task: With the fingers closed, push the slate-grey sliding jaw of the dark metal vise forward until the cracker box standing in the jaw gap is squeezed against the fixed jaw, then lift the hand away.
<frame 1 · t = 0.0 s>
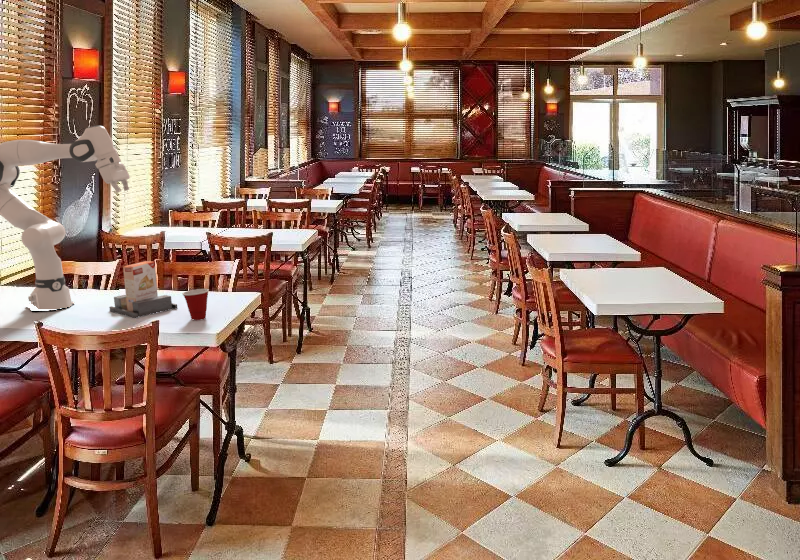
hand: (123, 191, 317), 52 cm above the table, tool tilted 20°, fingers open, 8 cm apart
cracker box: (143, 310, 320), on the table
vise: (144, 310, 319), on the table
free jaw: (134, 300, 324), point 3 cm above the table, slide at 0.1 cm
plastic cup: (198, 319, 302), on the table
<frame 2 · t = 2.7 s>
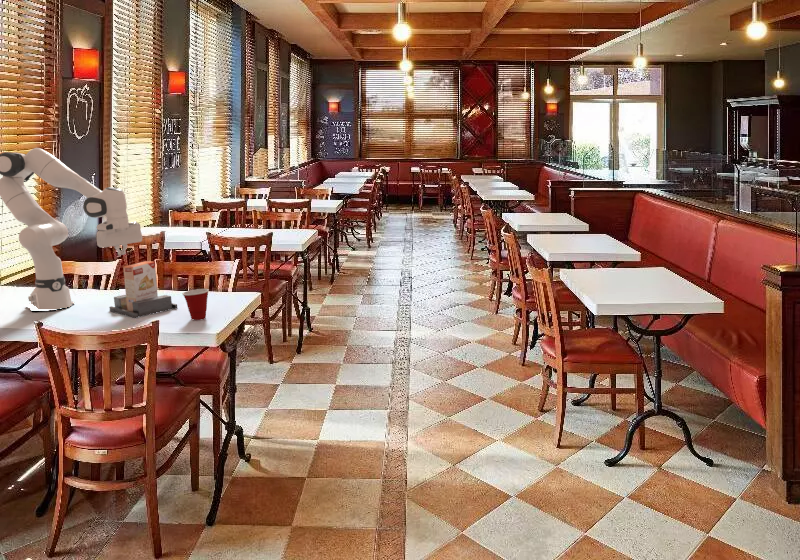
hand: (121, 254, 324), 24 cm above the table, tool pointing down, fingers closed
nothing on the table moved.
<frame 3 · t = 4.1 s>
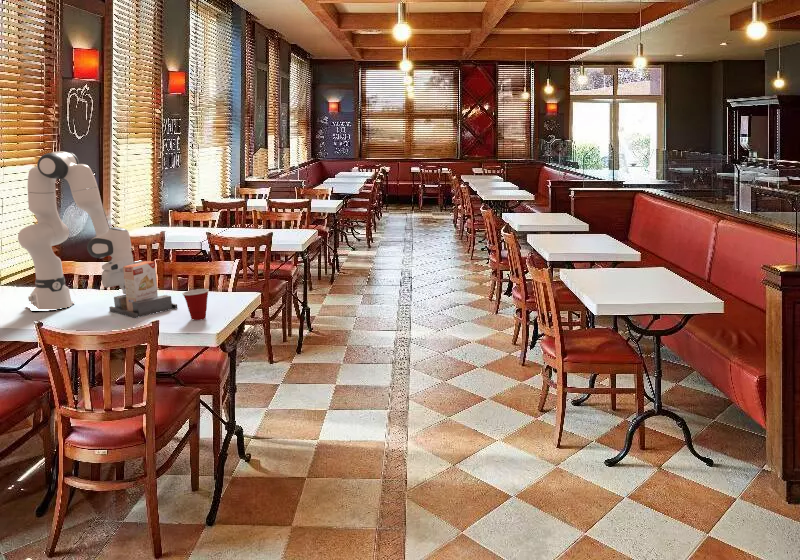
hand: (126, 293, 327), 6 cm above the table, tool pointing down, fingers closed
nothing on the table moved.
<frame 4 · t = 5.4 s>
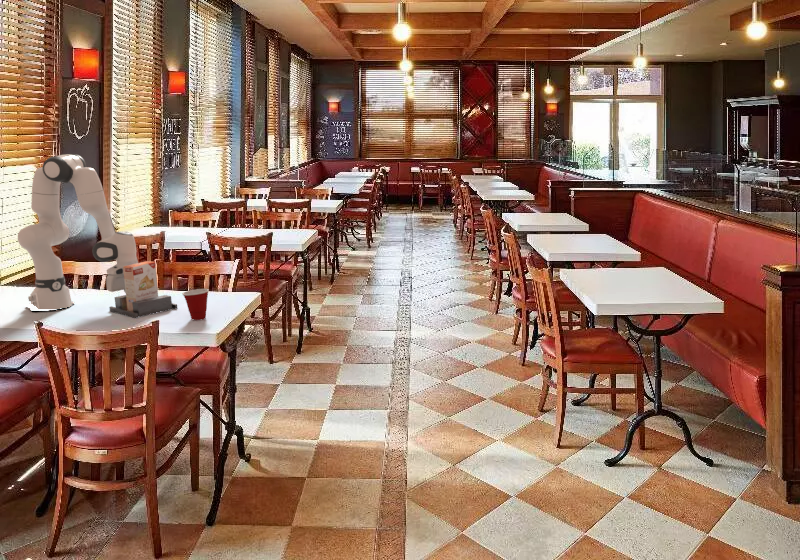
hand: (131, 297, 326), 4 cm above the table, tool pointing down, fingers closed, pressing on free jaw
cracker box: (144, 310, 319), on the table, touching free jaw
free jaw: (134, 300, 324), point 3 cm above the table, slide at 0.7 cm, touching cracker box, gripper
everything else where it was.
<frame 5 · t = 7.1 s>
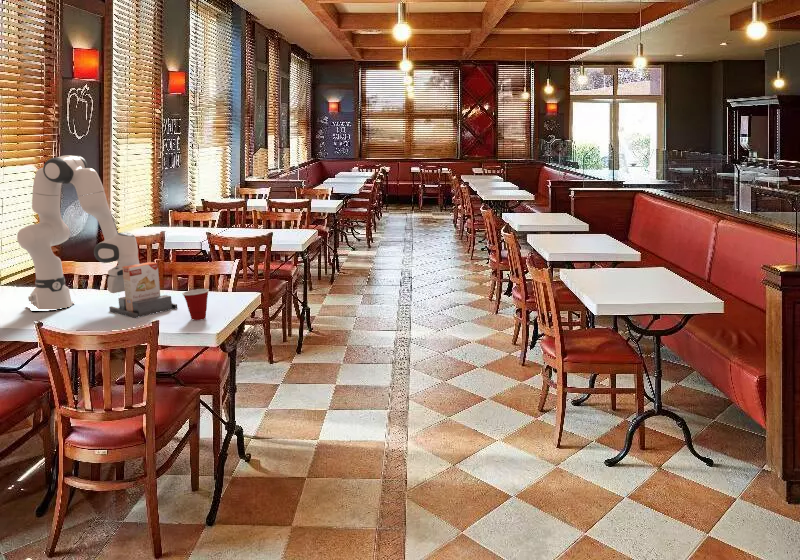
hand: (132, 299, 324), 4 cm above the table, tool pointing down, fingers closed
cracker box: (144, 311, 318), on the table
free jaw: (138, 301, 321), point 3 cm above the table, slide at 4.0 cm
everything else where it was.
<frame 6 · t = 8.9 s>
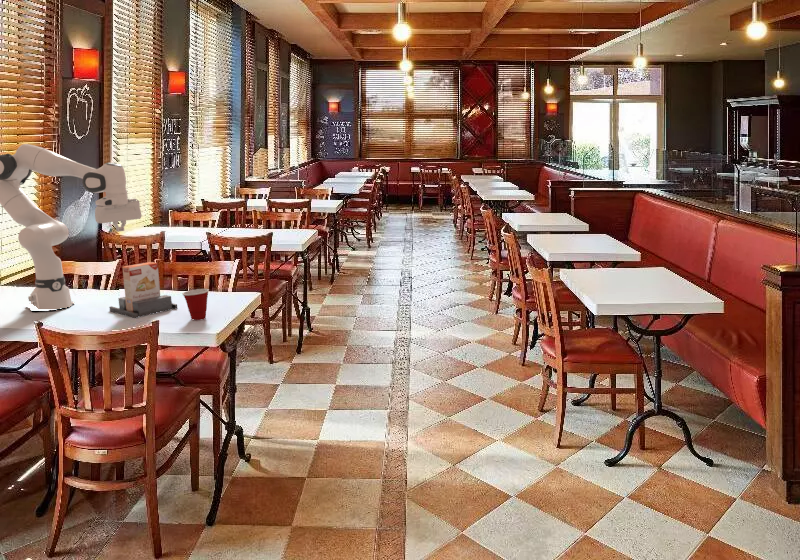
hand: (120, 231, 321), 34 cm above the table, tool pointing down, fingers closed
nothing on the table moved.
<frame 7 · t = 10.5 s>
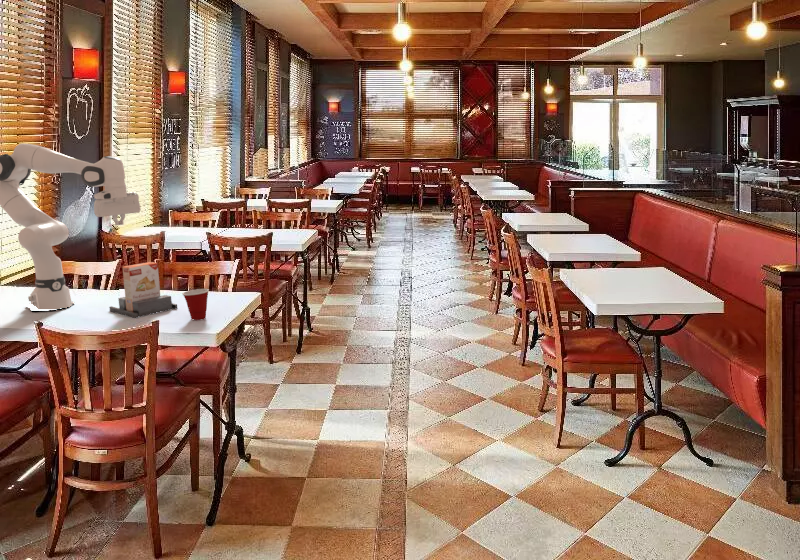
hand: (119, 224, 321), 37 cm above the table, tool pointing down, fingers closed
nothing on the table moved.
at the end: cracker box 0.8 cm from the target spot, on the table; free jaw slide at 4.0 cm; cracker box tilted 0° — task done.
